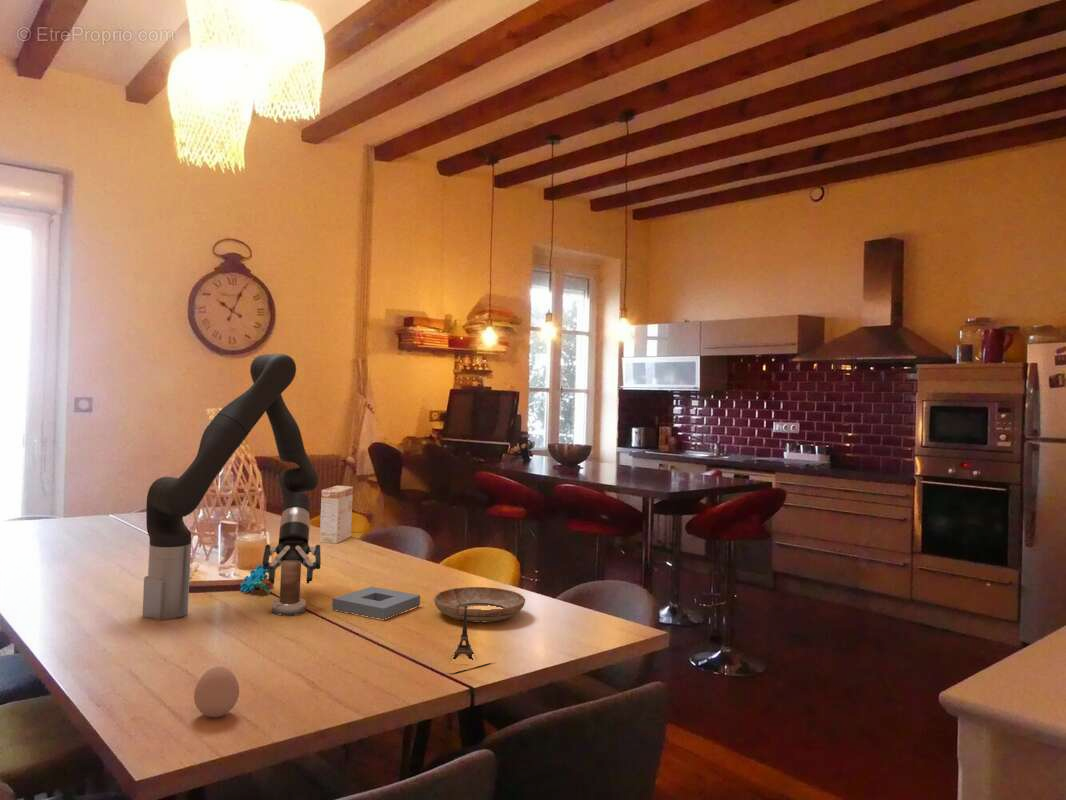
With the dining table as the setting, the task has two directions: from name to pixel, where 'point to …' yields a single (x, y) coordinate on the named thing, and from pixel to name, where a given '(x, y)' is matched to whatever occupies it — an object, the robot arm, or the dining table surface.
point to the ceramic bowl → (479, 603)
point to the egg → (216, 692)
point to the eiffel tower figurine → (464, 637)
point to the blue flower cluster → (255, 580)
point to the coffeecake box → (336, 514)
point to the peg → (290, 581)
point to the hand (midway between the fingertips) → (290, 582)
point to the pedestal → (289, 607)
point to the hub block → (376, 602)
